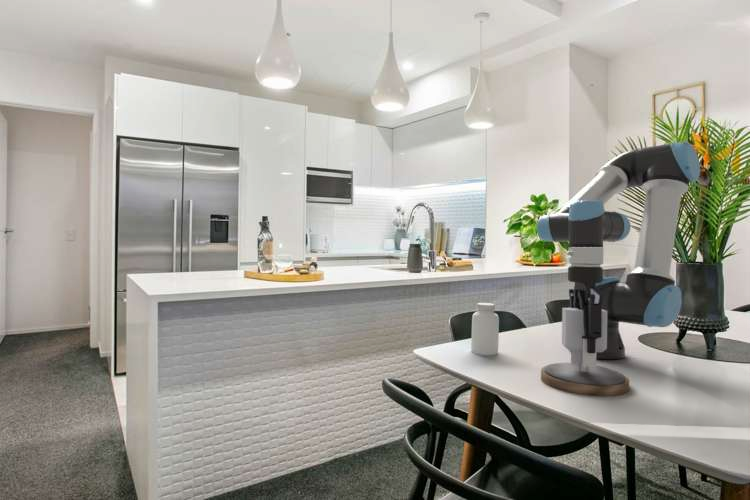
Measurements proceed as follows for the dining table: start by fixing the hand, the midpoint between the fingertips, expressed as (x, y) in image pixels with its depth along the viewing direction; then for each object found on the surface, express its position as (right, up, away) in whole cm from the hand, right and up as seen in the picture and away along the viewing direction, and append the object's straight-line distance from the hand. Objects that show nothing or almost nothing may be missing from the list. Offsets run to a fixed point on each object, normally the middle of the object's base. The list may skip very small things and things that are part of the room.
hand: (583, 362), depth 106 cm
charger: (0, -2, 0) cm, 2 cm away
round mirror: (0, -5, 0) cm, 5 cm away
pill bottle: (-16, -5, +29) cm, 34 cm away
